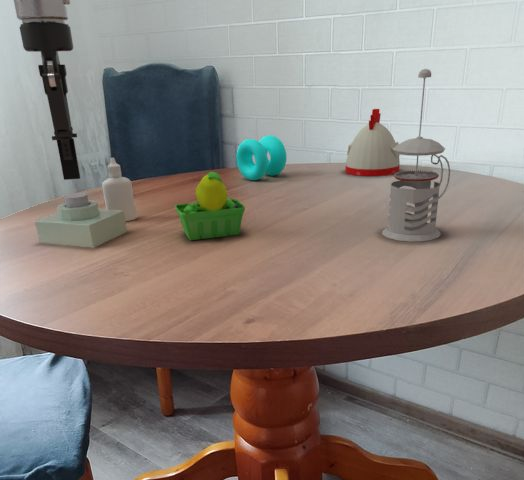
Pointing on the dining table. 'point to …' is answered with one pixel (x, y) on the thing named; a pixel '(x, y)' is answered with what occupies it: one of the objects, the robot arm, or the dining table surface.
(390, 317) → the dining table surface
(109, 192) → the eye dropper bottle
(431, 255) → the dining table surface
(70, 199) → the grayish pink short cylinder
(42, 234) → the push button box
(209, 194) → the fruit basket
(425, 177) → the french press
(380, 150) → the kitchen timer
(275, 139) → the donuts
